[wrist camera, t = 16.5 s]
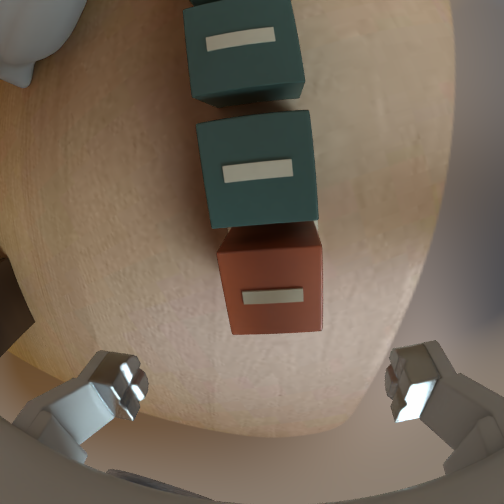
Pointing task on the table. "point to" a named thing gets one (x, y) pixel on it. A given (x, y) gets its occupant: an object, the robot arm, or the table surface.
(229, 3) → the row of labeled boxes
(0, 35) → the shell shaped sculpture
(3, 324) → the dark drawer rack
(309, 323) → the wooden drawer cube
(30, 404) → the robot arm
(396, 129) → the table surface
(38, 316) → the table surface
